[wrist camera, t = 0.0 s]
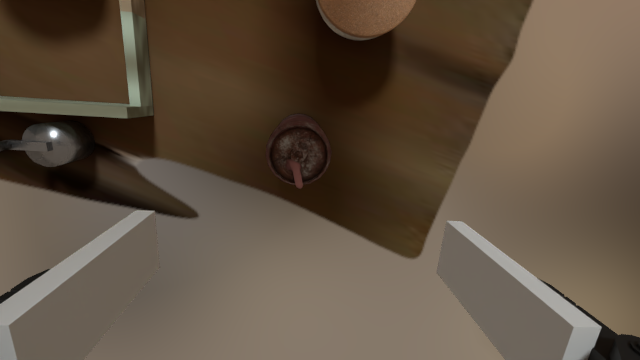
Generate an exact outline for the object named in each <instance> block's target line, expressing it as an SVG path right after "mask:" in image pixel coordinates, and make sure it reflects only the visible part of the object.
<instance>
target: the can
mask: <svg viewBox="0 0 640 360" xmlns="http://www.w3.org/2000/svg"><path fill="white" fill-rule="evenodd" d="M266 159H267V162H268V166H269V167H270V169H271V171H272V172H273V174H274V175H275V176H277V177H278V178H279V179H280V180H281V181H284V182H286V183H288V184H292V185H296V187H297V188H299V189H300V188H302V187H303V185H305V184H310V183H312V182H314V181H315V180H317V179H319V178H320V177H321V176H322V175H323V174H324V173H325V172H326V170H327V168H328V166H329V164H330V160H331V147H330V142H329V140H328V138H327V137H326V135H325V133H324V132H323V130H322V129H321V128H320V126H319V125H318V124H317V122H316V121H315V120H314V119H312V118H311V117H309V116H307V115H305V114H293V115H290V116H288V117H286V118H284V119H283V120H282V122H281V123H280V124H279V125H278V126H277V128H276V129H275V130H274V132H273V133H272V134H271V136H270V138H269V141H268V143H267V145H266Z"/></svg>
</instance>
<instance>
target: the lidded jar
mask: <svg viewBox="0 0 640 360" xmlns="http://www.w3.org/2000/svg"><path fill="white" fill-rule="evenodd" d="M316 3H317V7H318V9H319V12H320V14H321V16H322V18H323V20H324V21H325V22H326V24H327V25H328V26H329V27H330V28H331V29H332V30H333V31H334V32H335V33H337V34H339V35H340V36H342V37H345V38H347V39H351V40H358V41H362V40H369V39H373V38H376V37H379V36H381V35H383V34H385V33H387V32H389V31H391V30H392V29H394V28H395V27H397V26H398V25H399V24H400V23H401V22H402V21H403V20H404V19H405V18H406V17H407V16H408V14H409V13H410V12H411V10H412V8H413V6H414V5H415V3H416V0H316Z"/></svg>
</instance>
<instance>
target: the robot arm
mask: <svg viewBox="0 0 640 360" xmlns="http://www.w3.org/2000/svg"><path fill="white" fill-rule="evenodd" d="M159 268H160V264H159V254H158V242H157V231H156V219H155V211H140V210H136V211H134V212H133V213H132V214H130V215H129V216H128V217H126V218H124V219H123V220H122V221H120V222H119V223H117V224H116V225H114V226H113V227H111V228H110V229H109V230H107V231H106V232H104V233H103V234H101V235H100V236H98V237H97V238H95V239H94V240H92V241H91V242H90V243H88V244H87V245H85V246H84V247H82V248H81V249H79V250H78V251H77V252H75V253H74V254H72V255H71V256H69V257H68V258H66V259H65V260H63V261H62V262H61V263H59V264H58V265H56V266H55V267H53V268H52V269H48V270H45V271H43V272H41V273H38V274H36V275H34V276H32V277H30V278H27V279H26V280H24V281H23V282H21V283H20V284H18V285H17V286H15V287H14V288H12V289H11V291H10V292H7V293H5V294H4V295H2V296H0V360H84V359H85V358H86V356H87V355H88V354H89V353H90V352H91V351H92V349H93V348H94V347H95V346H96V344H97V343H98V342H99V341H100V340H101V338H102V337H103V336H104V334H105V333H106V332H107V331H108V330H109V329H110V327H111V326H112V325H113V324H114V323H115V321H116V320H117V319H118V318H119V316H120V315H121V314H122V313H123V312H124V310H125V309H126V308H127V307H128V306H129V304H130V303H131V301H133V299H134V298H135V297H136V296H137V294H138V293H139V292H140V291H141V290H142V288H143V287H144V286H145V285H146V284H147V282H148V281H149V280H150V279H151V278H152V276H153V275H154V274H155V273H156V271H157V270H158V269H159ZM437 274H438V275H439V276H440V278H441V279H442V280H443V281H444V283H445V284H446V285H447V286H448V288H449V289H450V290H451V291H452V293H453V294H454V295H455V297H456V298H457V299H458V300H459V302H460V303H461V304H462V306H463V307H464V308H465V309H466V311H467V312H468V313H469V314H470V315H471V317H472V318H473V320H474V321H475V322H476V323H477V324H478V326H479V327H480V328H481V330H482V331H483V332H484V333H485V335H486V336H487V337H488V339H489V340H490V341H491V342H492V344H493V345H494V346H495V347H496V349H497V350H498V351H499V353H500V354H501V355H502V356H503V358H504V359H505V360H640V338H639V337H636V336H632V335H624V334H621V335H617V334H616V333H615V332H613V331H612V330H611V329H609V328H608V327H607V326H605V325H604V324H603V323H601V322H600V321H599V320H597V319H596V318H595V317H593V316H592V315H590V314H589V313H588V312H587V311H585V310H584V309H583V308H581V307H580V306H576V304H575V303H574V302H573V301H572V300H570V299H569V298H568V297H564V294H562V293H561V292H559V291H558V290H557V289H555V288H554V287H553V286H551V285H550V284H548V283H546V282H544V281H542V280H540V279H538V278H536V277H535V276H534V275H532V274H531V273H530V272H528V271H527V270H526V269H524V268H523V267H522V266H520V265H519V264H518V263H516V262H515V261H514V260H512V259H511V258H510V257H508V256H507V255H506V254H504V253H503V252H502V251H500V250H499V249H498V248H497V247H495V246H494V245H493V244H491V243H490V242H489V241H487V240H486V239H485V238H483V237H482V236H481V235H479V234H478V233H476V232H475V231H474V230H473V229H471V228H470V227H469V226H467V225H466V224H465V223H463V222H461V221H460V222H459V221H446V226H445V231H444V237H443V242H442V247H441V252H440V257H439V263H438V268H437Z"/></svg>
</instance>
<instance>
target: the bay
mask: <svg viewBox="0 0 640 360" xmlns="http://www.w3.org/2000/svg"><path fill="white" fill-rule="evenodd" d="M119 3H120V12H121V22H122V32H123V41H124V51H125V61H126V70H127V80H128V90H129V100H130V104H117V103H101V102H85V101H69V100H53V99H37V98H21V97H5V96H0V111H10V112H27V113H44V114H61V115H78V116H95V117H112V118H135V117H144V116H152V115H154V112H153V100H152V88H151V76H150V64H149V52H148V40H147V28H146V16H145V4H144V0H119Z"/></svg>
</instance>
